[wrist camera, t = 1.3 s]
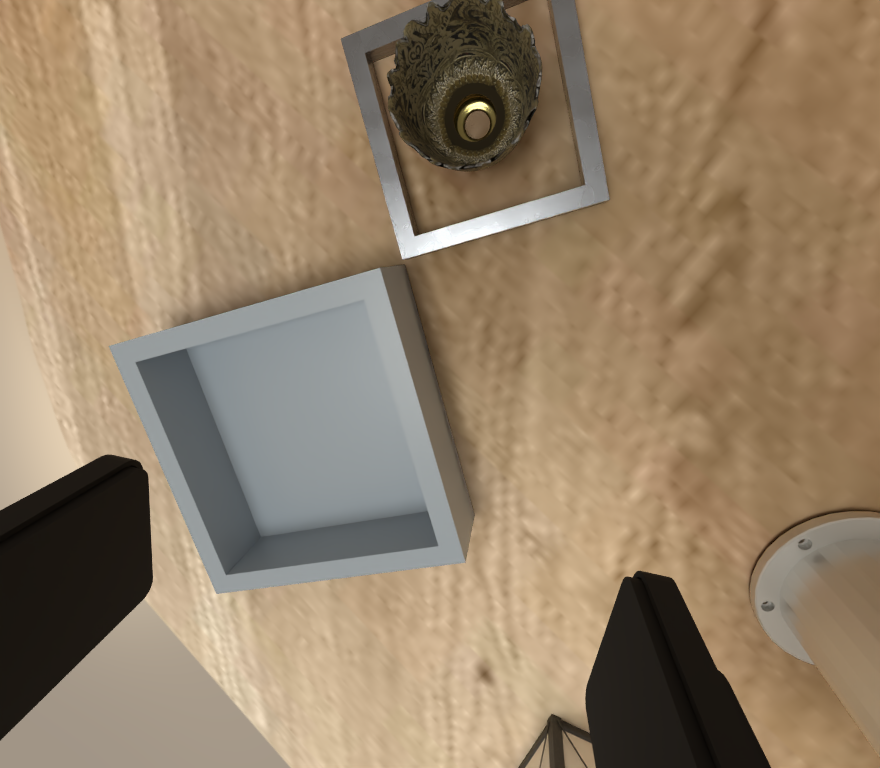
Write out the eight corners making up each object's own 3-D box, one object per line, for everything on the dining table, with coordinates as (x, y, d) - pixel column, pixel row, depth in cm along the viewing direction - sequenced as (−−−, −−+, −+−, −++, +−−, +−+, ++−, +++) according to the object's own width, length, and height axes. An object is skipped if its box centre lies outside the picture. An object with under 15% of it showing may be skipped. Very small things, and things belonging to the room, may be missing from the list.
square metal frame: (562, -40, 27) (564, -56, 25) (605, 201, 30) (609, 199, 28) (349, 48, 30) (340, 38, 28) (407, 259, 33) (402, 259, 31)
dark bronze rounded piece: (397, 133, 31) (355, 95, 23) (473, 29, 28) (454, -51, 21) (480, 212, 31) (466, 201, 24) (562, 116, 29) (575, 69, 21)
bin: (404, 264, 33) (379, 267, 27) (474, 515, 37) (465, 562, 32) (171, 331, 38) (108, 346, 32) (258, 547, 42) (216, 593, 36)
